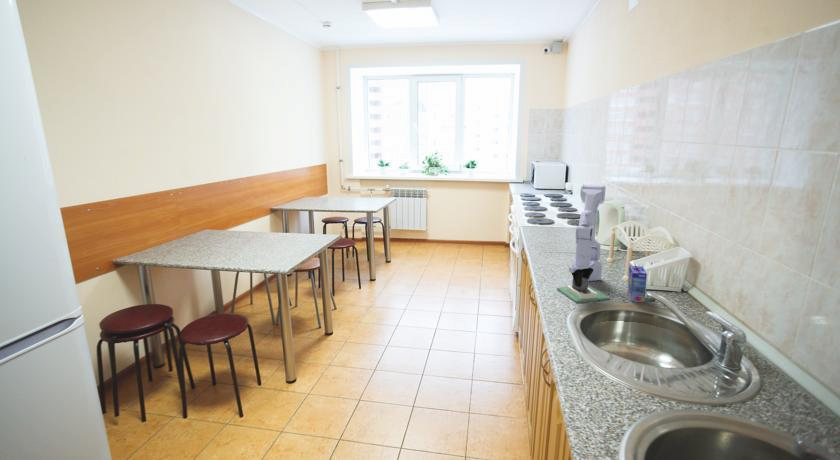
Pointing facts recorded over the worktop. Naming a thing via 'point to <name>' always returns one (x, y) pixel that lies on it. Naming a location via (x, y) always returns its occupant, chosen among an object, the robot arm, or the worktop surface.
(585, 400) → the worktop surface
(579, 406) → the worktop surface
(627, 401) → the worktop surface
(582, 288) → the plug
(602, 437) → the worktop surface
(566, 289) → the header board
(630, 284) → the ink cartridge box
